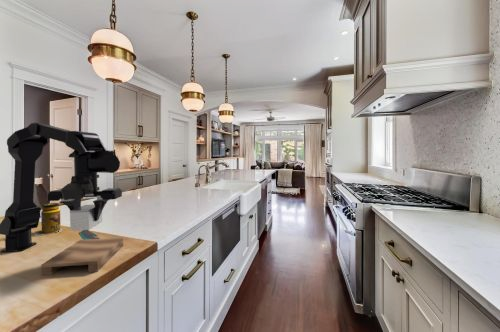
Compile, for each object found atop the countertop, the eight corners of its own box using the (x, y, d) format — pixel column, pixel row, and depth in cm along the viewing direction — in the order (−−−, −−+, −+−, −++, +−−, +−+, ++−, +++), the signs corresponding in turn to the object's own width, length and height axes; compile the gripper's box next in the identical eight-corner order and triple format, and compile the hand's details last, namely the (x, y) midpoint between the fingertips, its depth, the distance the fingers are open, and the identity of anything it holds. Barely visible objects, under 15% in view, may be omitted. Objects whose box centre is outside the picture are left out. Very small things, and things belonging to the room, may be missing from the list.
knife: (90, 247, 79) (106, 243, 83) (90, 244, 79) (106, 241, 83) (75, 231, 96) (89, 229, 99) (75, 229, 95) (89, 227, 99)
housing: (85, 222, 73) (85, 204, 73) (102, 222, 74) (101, 204, 74) (70, 230, 65) (69, 210, 65) (89, 229, 66) (88, 210, 66)
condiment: (62, 231, 94) (61, 204, 94) (34, 236, 88) (33, 207, 88) (61, 227, 99) (60, 201, 99) (34, 232, 94) (33, 204, 93)
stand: (80, 248, 78) (80, 239, 78) (123, 245, 80) (123, 237, 80) (41, 275, 60) (41, 264, 60) (97, 271, 63) (97, 261, 62)
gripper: (30, 174, 60) (32, 231, 60) (106, 174, 63) (107, 228, 63) (59, 171, 70) (60, 219, 71) (122, 171, 74) (123, 217, 74)
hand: (87, 221), depth 70 cm, fingers closed on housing, 5 cm apart
